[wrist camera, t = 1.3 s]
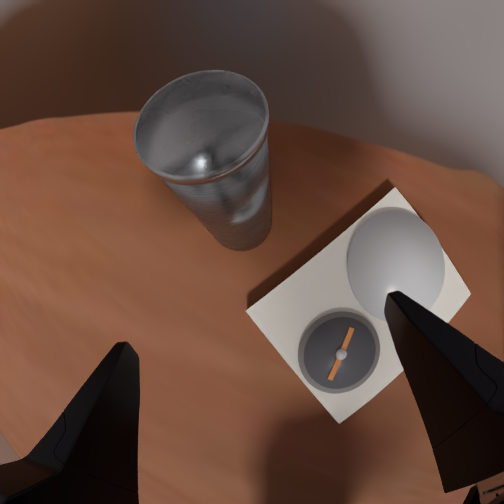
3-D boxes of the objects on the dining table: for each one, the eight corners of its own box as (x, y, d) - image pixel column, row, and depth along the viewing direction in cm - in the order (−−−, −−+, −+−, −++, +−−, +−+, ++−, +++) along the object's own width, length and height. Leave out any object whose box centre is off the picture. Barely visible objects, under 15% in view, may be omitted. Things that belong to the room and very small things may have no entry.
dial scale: (336, 418, 20) (340, 426, 18) (247, 310, 22) (244, 311, 20) (463, 294, 20) (474, 293, 18) (390, 192, 22) (397, 184, 21)
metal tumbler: (235, 265, 22) (175, 209, 9) (198, 217, 23) (115, 121, 10) (286, 225, 23) (299, 120, 9) (247, 180, 24) (216, 55, 10)
